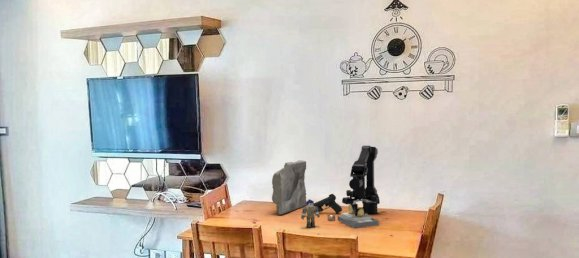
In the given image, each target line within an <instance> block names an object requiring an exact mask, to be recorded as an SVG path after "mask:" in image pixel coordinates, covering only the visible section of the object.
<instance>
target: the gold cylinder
mask: <svg viewBox="0 0 579 258" xmlns="http://www.w3.org/2000/svg"><path fill="white" fill-rule="evenodd" d="M356 217H364V208H363V206H361V207H359V206H358V209H357V216H356Z"/></svg>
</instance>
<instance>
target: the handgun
mask: <svg viewBox="0 0 579 258" xmlns="http://www.w3.org/2000/svg"><path fill="white" fill-rule="evenodd" d="M336 199H337V197H336V195H335V194H334V193H331V194H329V195H328V196H327V197H325V198H323V199H321V200H318V201H316V202H314V205H313V206H316V207H318V212H319V213H320V212H322V213H323V211H324V210H327V209H330V208H331V209H332V210H333V211H334V212H335V214H336V215H338V214H340V213H341V212H343V208H342V206H341V205H340V204H339V203H338V202H336ZM324 206H325V208H323V207H324ZM314 213H315V211H314Z"/></svg>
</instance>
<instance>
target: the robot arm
mask: <svg viewBox="0 0 579 258" xmlns="http://www.w3.org/2000/svg"><path fill="white" fill-rule="evenodd" d="M378 153H379V151H378V148H377V147H376V146H371V145H362V146H361V150H360V153H359V156H358V159H357V160H355V161H354V162H353V164H352V166H351V169H350V175H349V176H350V178H352V179H351V180H349V183H348V185H349V187H350V189H347V190H345V191H346V193H345V195H346V196H345V197H342V200H341V203H342V204H344V205H351V206H352V208H353V211H354V213H355V216H357V209H358V207H359V206H358V205H359V204H358V203H357V202H361V203H362V208H364V215H365V214H367V215H369V216H373V215H379V214H380V213H379V212H378V205H379V204H380V197H379V194H378V189H377V188H376V187H375V161H376V159H377V155H378Z"/></svg>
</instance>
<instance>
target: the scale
mask: <svg viewBox="0 0 579 258" xmlns="http://www.w3.org/2000/svg"><path fill="white" fill-rule="evenodd" d="M340 213H341V212H340ZM336 218H337V221H338V222H341V223H342V224H345V225H347V226H349V227H351V228H352V229H358V228H367V226H368V227H374V226H375V225H376V226H380V220H378V219H376V218H374V217H373V215H368V214H366V213H365V215H364V217H356V216H355V214H349V211H348V212H342V213H341V215H337V217H336Z"/></svg>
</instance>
